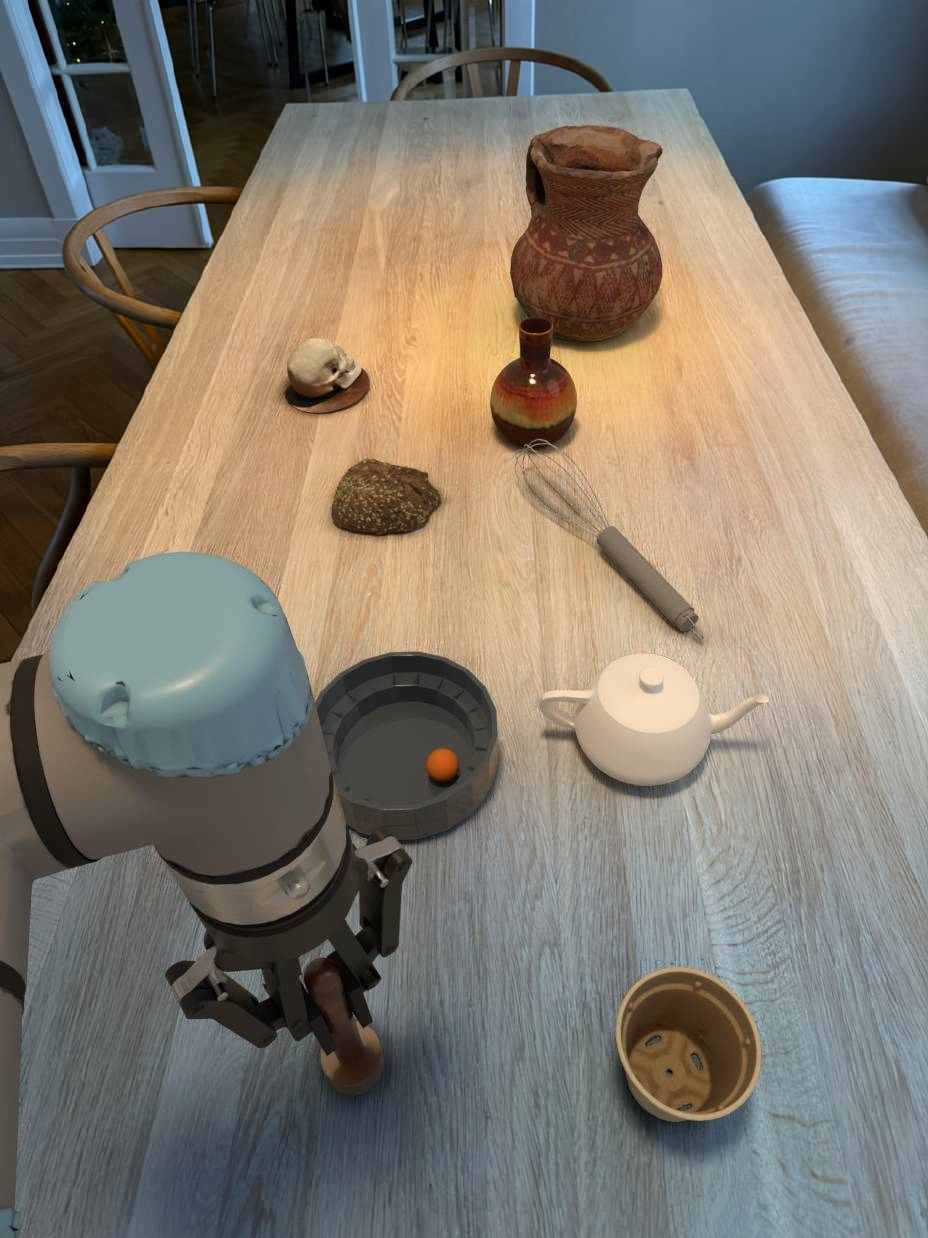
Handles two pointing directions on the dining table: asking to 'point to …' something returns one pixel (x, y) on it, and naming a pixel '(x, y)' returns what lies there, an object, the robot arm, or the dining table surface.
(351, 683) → the bowl
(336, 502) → the bread roll
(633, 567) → the kitchen whisk
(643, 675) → the teapot
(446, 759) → the bead
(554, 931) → the dining table surface
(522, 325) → the vase
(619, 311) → the jug
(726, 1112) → the flower pot
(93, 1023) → the dining table surface
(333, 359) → the skull
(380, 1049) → the wooden pestle
